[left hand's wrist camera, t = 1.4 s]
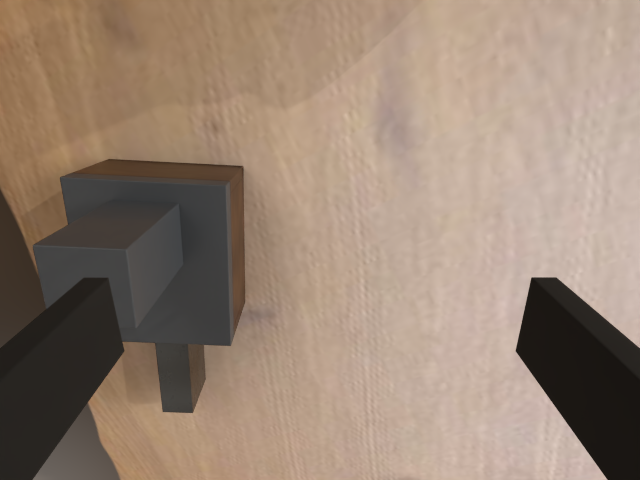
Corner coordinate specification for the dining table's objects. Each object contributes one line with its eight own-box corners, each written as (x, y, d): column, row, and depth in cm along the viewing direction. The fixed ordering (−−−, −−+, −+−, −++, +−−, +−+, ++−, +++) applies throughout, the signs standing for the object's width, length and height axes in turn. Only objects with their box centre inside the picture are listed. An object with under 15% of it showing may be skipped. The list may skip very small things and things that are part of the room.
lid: (84, 167, 33) (-44, 214, 21) (235, 175, 33) (190, 226, 21) (108, 318, 38) (15, 423, 26) (238, 323, 38) (203, 429, 26)
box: (108, 159, 36) (70, 172, 31) (243, 165, 37) (230, 181, 31) (137, 376, 45) (112, 418, 39) (246, 380, 45) (236, 422, 40)
